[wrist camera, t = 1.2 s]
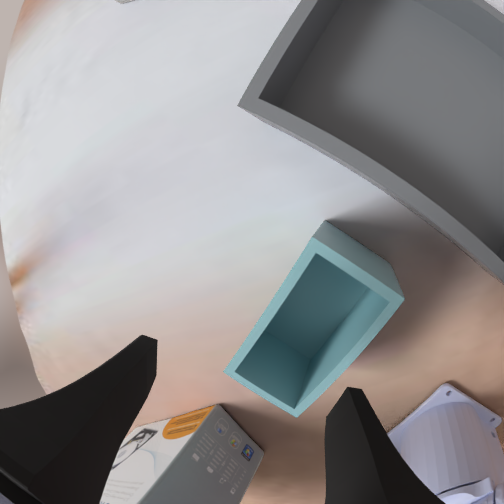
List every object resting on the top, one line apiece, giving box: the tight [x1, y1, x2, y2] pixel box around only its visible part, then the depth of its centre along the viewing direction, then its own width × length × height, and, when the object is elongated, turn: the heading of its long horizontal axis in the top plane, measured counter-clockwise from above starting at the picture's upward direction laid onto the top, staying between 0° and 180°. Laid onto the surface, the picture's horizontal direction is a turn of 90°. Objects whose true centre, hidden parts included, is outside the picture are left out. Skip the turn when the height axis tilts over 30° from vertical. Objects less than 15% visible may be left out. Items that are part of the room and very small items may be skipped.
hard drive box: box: [100, 404, 264, 504], centre depth 18 cm, size 16×8×20 cm, turn 128°
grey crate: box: [237, 0, 504, 285], centre depth 12 cm, size 18×14×4 cm
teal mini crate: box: [223, 221, 405, 418], centre depth 17 cm, size 5×9×6 cm, turn 151°
